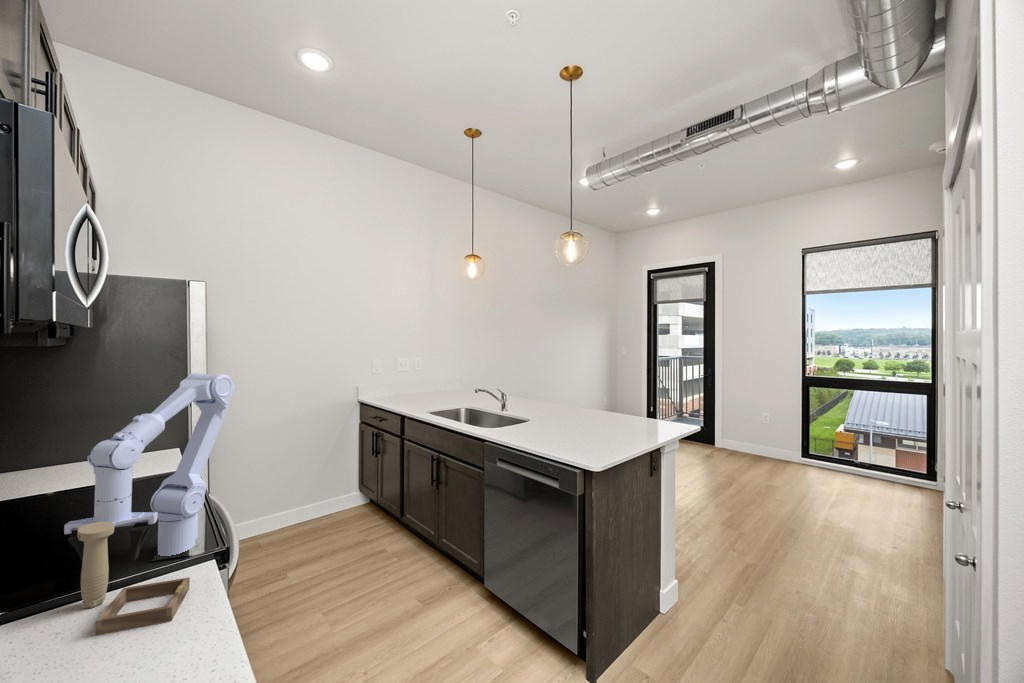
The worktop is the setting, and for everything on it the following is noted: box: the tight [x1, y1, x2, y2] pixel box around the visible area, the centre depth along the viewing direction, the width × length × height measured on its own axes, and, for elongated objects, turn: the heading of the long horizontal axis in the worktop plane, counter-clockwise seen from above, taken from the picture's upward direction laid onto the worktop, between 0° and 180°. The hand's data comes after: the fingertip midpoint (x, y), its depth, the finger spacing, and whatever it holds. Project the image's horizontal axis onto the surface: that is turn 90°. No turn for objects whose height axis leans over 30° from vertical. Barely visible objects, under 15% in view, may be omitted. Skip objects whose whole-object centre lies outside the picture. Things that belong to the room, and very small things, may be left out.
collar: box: [94, 577, 190, 637], centre depth 81 cm, size 11×11×3 cm
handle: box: [77, 522, 115, 609], centre depth 82 cm, size 5×6×15 cm
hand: (111, 561), depth 89 cm, fingers open, 7 cm apart
